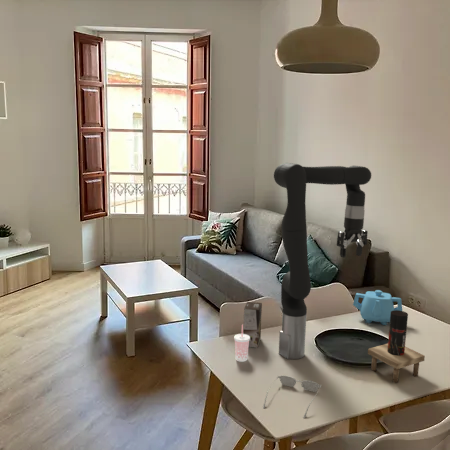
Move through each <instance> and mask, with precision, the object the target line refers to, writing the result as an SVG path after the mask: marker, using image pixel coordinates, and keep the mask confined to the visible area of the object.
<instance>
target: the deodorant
mask: <svg viewBox="0 0 450 450" xmlns="http://www.w3.org/2000/svg"><path fill="white" fill-rule="evenodd" d="M408 318H409V314H408V312H406V311H403V310H402V311H399V310H394V311H391V315H390V322H389V329H388V340H387V344H388V350H387V351H388V353H390V354H392V355H397V356H401V355H404V352H405V347H406V341H407V340H406V339H407V331H408V330H407V328H408Z"/></svg>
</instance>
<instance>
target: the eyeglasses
mask: <svg viewBox="0 0 450 450" xmlns="http://www.w3.org/2000/svg"><path fill="white" fill-rule="evenodd" d="M278 379H279V381H280V383H281V385H282V386H287V387H291V388H294V387H295V386H296V384H297V383H298V382H299V383H300V384H301V388H302V389H303V390H304V391H307V392H309V391H310V392H313V393H316V394H315V395H314V397H313V398H312V399H311V401H310V403H309V404H308V405H307V407H306V411H305V413H304V414H303V416H302V418H303V419H306V417H307V414H308V411H309V408H310V406H311V404H312V402H313V401H314V400H315V398H316V395H317V394H318V392H319V391H318V390H319V389H320V388H322V384H319V383H318V382H316V381H312V380H296V378H294V377H292V376H289V375H277V376H276V380H278ZM274 382H275V381H273V382H272V383H271V385H270V386H269V388H268V389H267V392H266V395H265V398H264V403H263V406H262V409H266V402H267V401H266V400H267V398H268V397H267V396H268V394H269V390H270V388H271V386H272V385H273V384H274Z"/></svg>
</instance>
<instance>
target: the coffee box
mask: <svg viewBox="0 0 450 450" xmlns="http://www.w3.org/2000/svg"><path fill="white" fill-rule="evenodd" d="M262 308H263V303H262V302H257V301H254V302H253V301H247V302H246V304H245V306H244V307H243V334H246V335H249V336H250V340H249V347H250V348H259V344H260V342H261V337H262V335H261V334H262V313H263V312H262V311H263V310H262ZM249 347H248V348H249Z"/></svg>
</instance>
